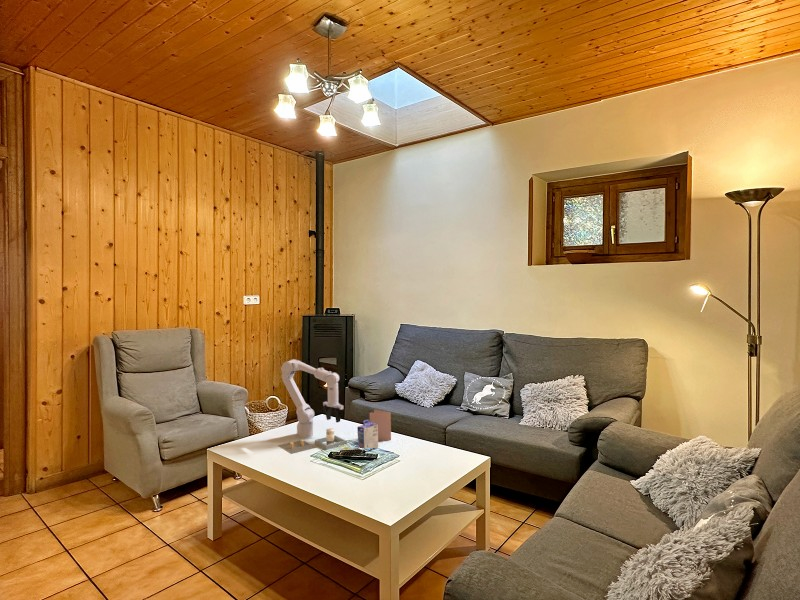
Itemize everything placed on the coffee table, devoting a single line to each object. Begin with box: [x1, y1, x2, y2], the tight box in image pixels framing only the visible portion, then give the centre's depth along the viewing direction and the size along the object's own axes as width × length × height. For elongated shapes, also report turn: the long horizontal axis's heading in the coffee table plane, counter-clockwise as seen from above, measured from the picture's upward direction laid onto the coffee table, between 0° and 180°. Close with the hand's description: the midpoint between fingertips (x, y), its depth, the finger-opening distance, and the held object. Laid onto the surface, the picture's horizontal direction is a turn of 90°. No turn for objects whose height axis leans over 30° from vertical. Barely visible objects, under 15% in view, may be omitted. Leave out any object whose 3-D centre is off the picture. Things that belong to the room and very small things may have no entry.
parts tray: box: [314, 434, 348, 451], centre depth 235 cm, size 12×12×4 cm
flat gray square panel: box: [277, 439, 318, 455], centre depth 232 cm, size 16×14×4 cm
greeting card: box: [369, 409, 392, 441], centre depth 246 cm, size 11×7×15 cm, turn 54°
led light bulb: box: [325, 428, 335, 445], centre depth 235 cm, size 4×4×8 cm
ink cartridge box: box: [357, 419, 379, 449], centre depth 231 cm, size 10×6×14 cm, turn 136°
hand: (333, 420), depth 246 cm, fingers open, 7 cm apart
